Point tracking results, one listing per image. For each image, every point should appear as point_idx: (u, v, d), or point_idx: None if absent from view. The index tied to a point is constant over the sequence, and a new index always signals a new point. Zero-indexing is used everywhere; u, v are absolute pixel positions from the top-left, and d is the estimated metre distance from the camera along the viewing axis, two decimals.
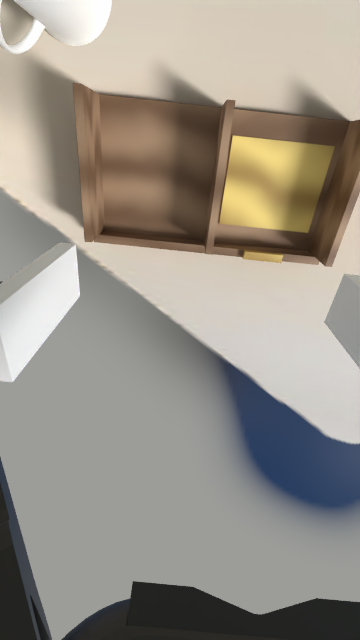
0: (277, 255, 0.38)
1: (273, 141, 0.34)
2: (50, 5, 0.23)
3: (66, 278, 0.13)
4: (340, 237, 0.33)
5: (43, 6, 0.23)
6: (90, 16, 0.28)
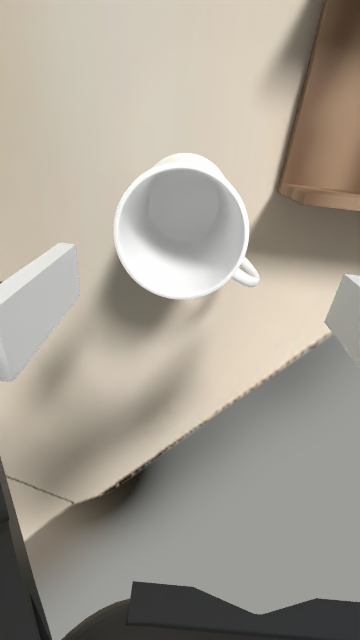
0: None
1: None
2: None
3: (66, 278, 0.13)
4: None
5: None
6: None
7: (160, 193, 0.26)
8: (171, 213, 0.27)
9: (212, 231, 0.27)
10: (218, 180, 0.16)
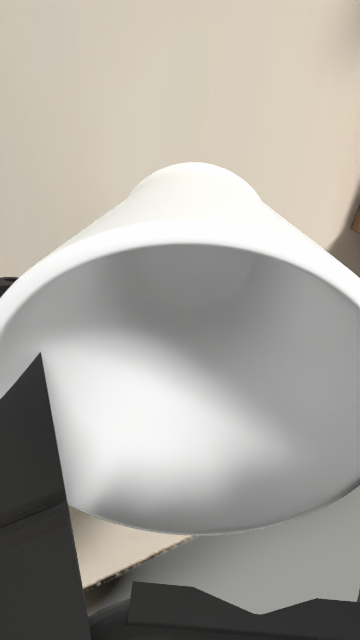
0: None
1: None
2: None
3: None
4: None
5: None
6: None
7: None
8: (168, 266, 0.16)
9: (239, 298, 0.16)
10: (336, 287, 0.04)
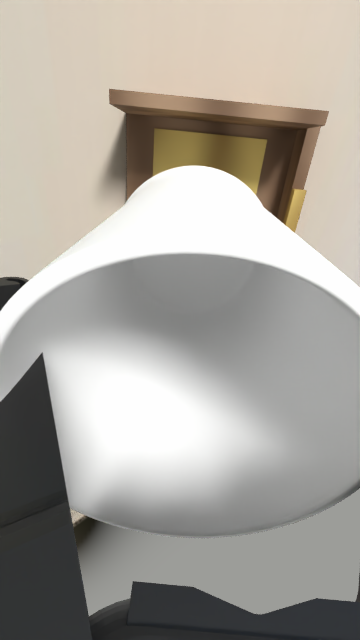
0: (293, 198, 0.25)
1: None
2: None
3: None
4: (276, 110, 0.20)
5: None
6: None
7: None
8: (169, 268, 0.16)
9: (239, 300, 0.16)
10: (336, 296, 0.04)
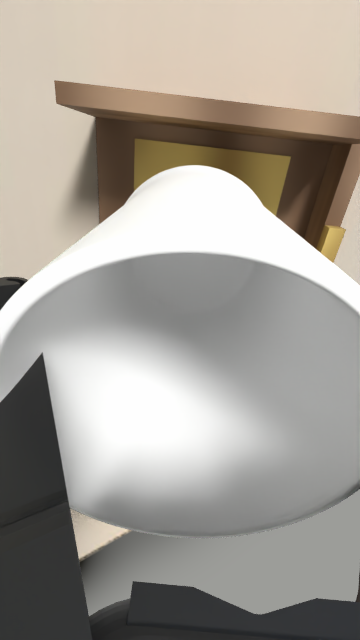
0: (326, 239, 0.18)
1: None
2: None
3: None
4: (316, 118, 0.13)
5: None
6: None
7: None
8: (169, 268, 0.16)
9: (240, 300, 0.16)
10: (337, 296, 0.04)
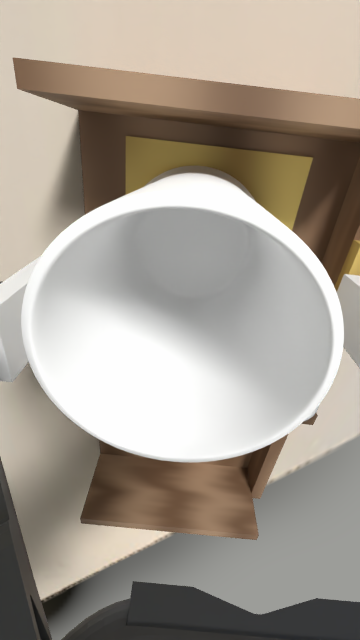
0: (356, 257, 0.15)
1: None
2: None
3: None
4: (358, 107, 0.10)
5: None
6: None
7: (156, 226, 0.17)
8: (171, 256, 0.18)
9: (233, 287, 0.17)
10: (283, 243, 0.06)
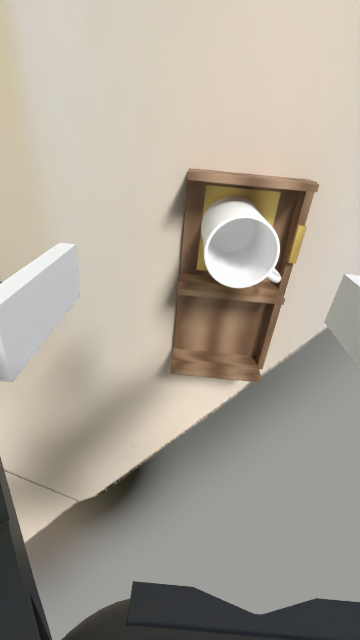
0: (297, 231, 0.38)
1: (201, 238, 0.43)
2: None
3: (66, 278, 0.13)
4: (287, 183, 0.33)
5: None
6: None
7: None
8: (222, 233, 0.41)
9: (249, 246, 0.41)
10: (265, 224, 0.29)
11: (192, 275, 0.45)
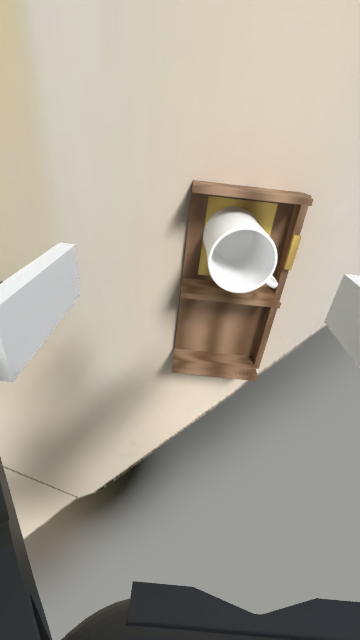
0: (293, 240, 0.41)
1: (202, 245, 0.45)
2: None
3: (66, 278, 0.13)
4: (284, 197, 0.36)
5: None
6: None
7: None
8: (223, 241, 0.44)
9: (247, 253, 0.44)
10: (264, 235, 0.32)
11: (194, 279, 0.48)
